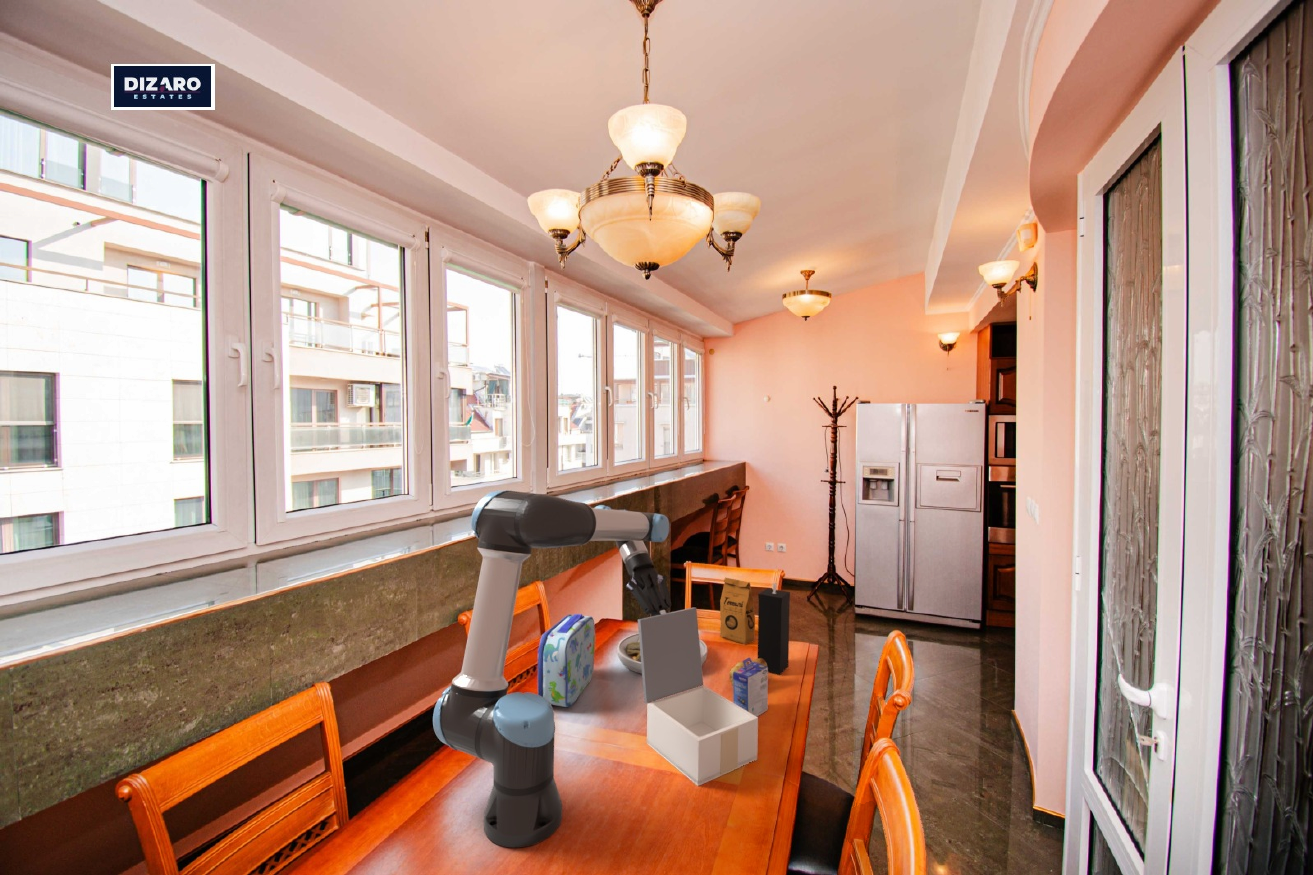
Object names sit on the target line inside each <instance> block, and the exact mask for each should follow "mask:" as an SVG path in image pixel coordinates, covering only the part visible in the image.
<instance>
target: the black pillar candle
mask: <svg viewBox="0 0 1313 875" xmlns="http://www.w3.org/2000/svg"><path fill="white" fill-rule="evenodd" d="M777 585H778V583H777V582H774V583H772V588H766V589H764V590H762V591H761V592H759V593H757V594H758V595H757V596H758V611H757V613H758V614H757V616H758V617H757V618H758V619H757V658H758V659H760V658H762V659H764V660H765V661H766V663H767V667H768V674H769V673H770V674H774V675H776V674H777V675H778V676H781V675H782V674H783V673H784V672H785V671H786V670H787V669H788V668H789V657H790V656H789V648H790V644H789V643H790V642H789V641H790V640H789V639H790V603H791V602H790V598H791V592H790V591H784V590H780V589H777V587H778V586H777Z"/></svg>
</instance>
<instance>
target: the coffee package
mask: <svg viewBox="0 0 1313 875" xmlns="http://www.w3.org/2000/svg"><path fill="white" fill-rule="evenodd" d="M723 582H724V583H723V589H722V592H721V597H720V600H719V602H720V605H719V606H720V608H719V609H720V613H719V616H720V619H719V621H720V627H719V629H720V630H719V637H721V638H724V639H728V640H731V641H733V642H735V643H739V644H742V645H745V646H746V645H747V644H750V643H752V641H753V642H754V641H755V634H756V615H755V602H754V601H755V600H754V596H753V590H752V587H751V583H750V582H747V581H743V580H739V579H736V578H735V579H734V578H729V577H724V579H723Z"/></svg>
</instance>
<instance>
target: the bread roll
mask: <svg viewBox="0 0 1313 875" xmlns="http://www.w3.org/2000/svg"><path fill="white" fill-rule="evenodd" d="M751 661H752V662H756V663H758V664H761V665H764V666H767V663H766V661H765V660H764V659H762V658H760V659H758V657H757V658H755V659H753V660H752V659H751ZM749 663H750V661H747V662H746V665H748V664H749ZM742 667H744V665H743V660H742V661H738V662H737V663H736V664H735V665H734V666H733V667H732V668H731V669H730V671H729V673H728V674H729V680H730V682H731V687H733V672H735V671H737V670H739V669H740V668H742Z"/></svg>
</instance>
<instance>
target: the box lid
mask: <svg viewBox="0 0 1313 875" xmlns="http://www.w3.org/2000/svg"><path fill="white" fill-rule="evenodd" d="M697 611H698V610H697V607H690V608H685V609H680V610H676V611H671V612H668V613H666V614H661V615H656V616H649V617H644V618H639V619H637V626H638V629H637V630H638V633H639V642H640V655H641V667H642V674H641V678H642V691H643V702H644V703H645V704H647V703H651V702H654V701H657V700H660V699H663V698H666V697H669V696H672V695H675V694H679V693H682V692H685V691H688V690H691V689H694V688H697V687H700V686H703V685H704V677H703V666H702V665H703V664H702V665H701V654H700V643H699V639H700V635H699V634H700V632H699V623H698V612H697Z"/></svg>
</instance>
